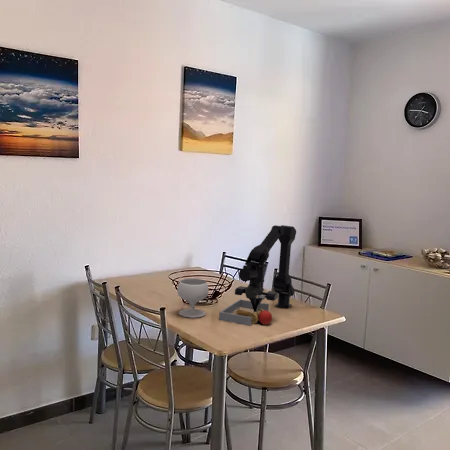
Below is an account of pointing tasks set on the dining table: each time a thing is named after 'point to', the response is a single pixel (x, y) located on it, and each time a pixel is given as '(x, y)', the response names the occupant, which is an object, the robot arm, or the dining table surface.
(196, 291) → the chalice
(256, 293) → the robot arm
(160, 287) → the dining table surface
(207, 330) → the dining table surface
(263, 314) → the kendama
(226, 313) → the box
